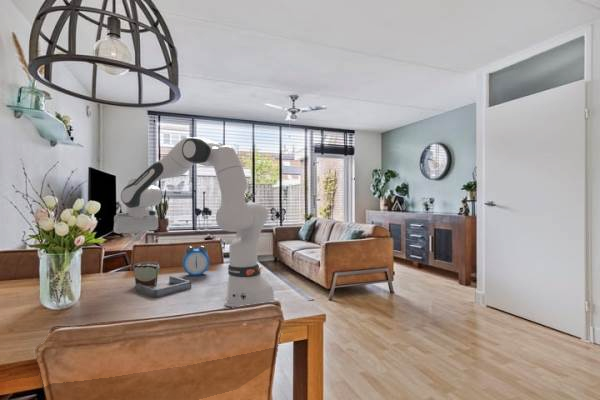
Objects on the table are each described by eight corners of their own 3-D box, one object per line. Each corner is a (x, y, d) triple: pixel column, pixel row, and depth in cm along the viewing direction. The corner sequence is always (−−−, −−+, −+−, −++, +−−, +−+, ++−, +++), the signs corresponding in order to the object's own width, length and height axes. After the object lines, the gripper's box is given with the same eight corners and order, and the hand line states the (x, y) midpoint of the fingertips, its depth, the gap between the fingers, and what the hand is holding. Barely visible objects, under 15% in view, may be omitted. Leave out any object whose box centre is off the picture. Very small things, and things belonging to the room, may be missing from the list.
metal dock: (191, 287, 143) (191, 281, 143) (155, 297, 129) (154, 290, 129) (171, 281, 152) (171, 275, 152) (135, 290, 138) (135, 283, 138)
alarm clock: (182, 277, 161) (182, 247, 160) (183, 274, 167) (183, 245, 166) (209, 275, 165) (209, 246, 165) (209, 272, 171) (209, 244, 170)
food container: (165, 283, 150) (165, 262, 150) (158, 286, 144) (157, 264, 144) (140, 282, 152) (140, 261, 151) (132, 285, 146) (132, 264, 145)
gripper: (117, 213, 143) (117, 244, 144) (160, 211, 160) (160, 239, 160) (110, 213, 147) (111, 242, 148) (153, 211, 164) (153, 237, 164)
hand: (136, 240), depth 154 cm, fingers closed
